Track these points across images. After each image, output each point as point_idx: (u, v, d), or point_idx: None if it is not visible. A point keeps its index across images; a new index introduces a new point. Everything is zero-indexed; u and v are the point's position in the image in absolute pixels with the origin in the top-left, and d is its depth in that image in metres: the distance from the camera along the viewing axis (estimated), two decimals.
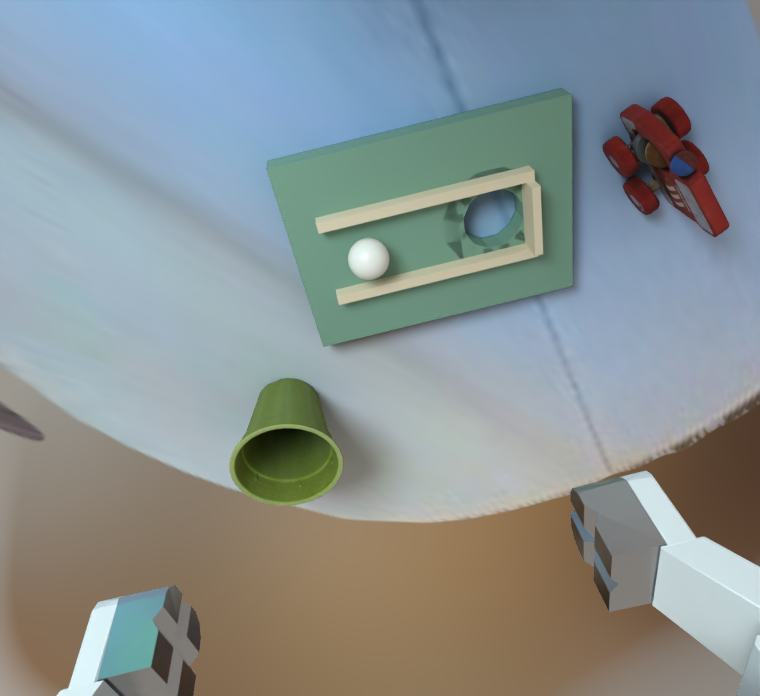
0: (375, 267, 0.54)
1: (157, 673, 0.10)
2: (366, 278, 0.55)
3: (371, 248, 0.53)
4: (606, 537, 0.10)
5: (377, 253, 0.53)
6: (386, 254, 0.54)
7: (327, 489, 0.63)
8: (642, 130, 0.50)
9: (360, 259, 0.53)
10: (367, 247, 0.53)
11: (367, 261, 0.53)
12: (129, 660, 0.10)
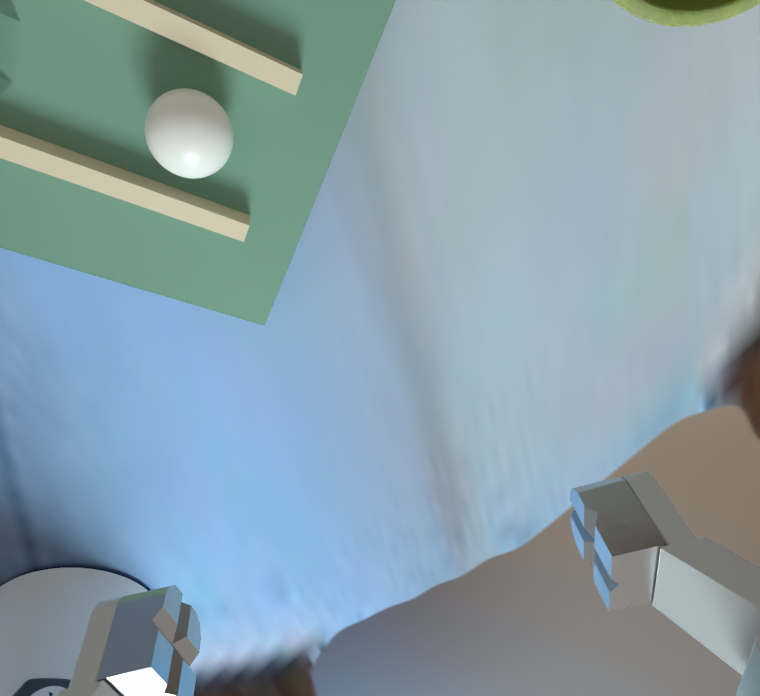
0: (175, 140, 0.25)
1: (157, 673, 0.10)
2: (208, 120, 0.26)
3: (167, 168, 0.27)
4: (606, 537, 0.10)
5: (160, 155, 0.26)
6: (146, 133, 0.26)
7: None
8: None
9: (197, 168, 0.27)
10: (174, 173, 0.27)
11: (185, 160, 0.26)
12: (129, 660, 0.10)
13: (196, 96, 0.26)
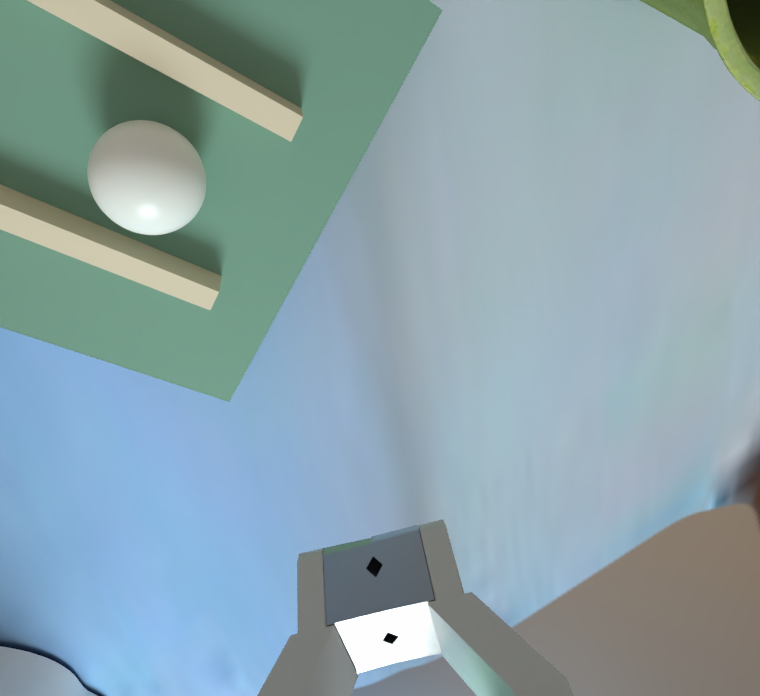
0: (126, 190, 0.19)
1: (383, 619, 0.10)
2: (173, 167, 0.19)
3: (115, 221, 0.20)
4: (382, 591, 0.10)
5: (104, 206, 0.20)
6: (88, 174, 0.20)
7: None
8: None
9: (153, 226, 0.20)
10: (124, 227, 0.21)
11: (137, 216, 0.20)
12: (355, 606, 0.10)
13: (159, 133, 0.19)
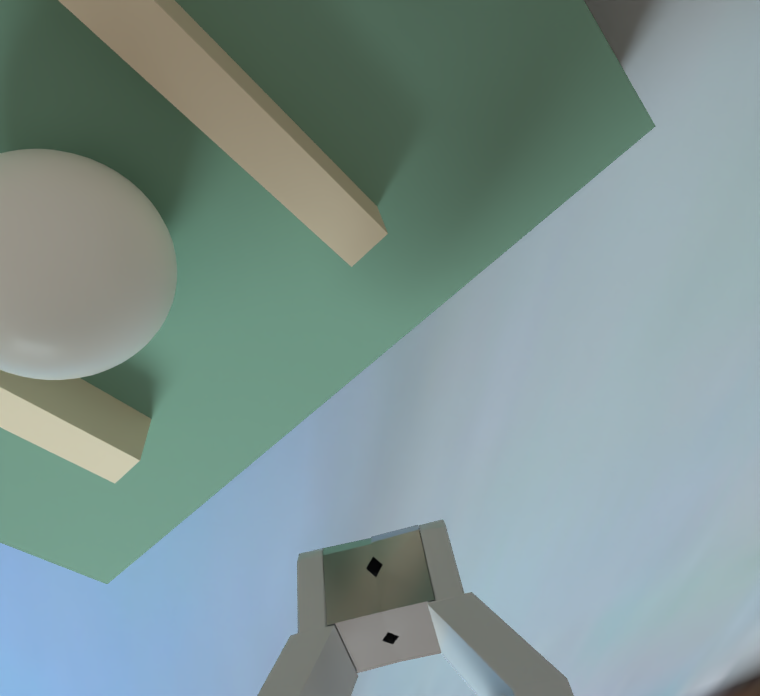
0: None
1: (383, 619, 0.10)
2: (115, 278, 0.09)
3: None
4: (382, 590, 0.10)
5: None
6: None
7: None
8: None
9: (39, 374, 0.10)
10: None
11: (6, 355, 0.09)
12: (355, 606, 0.10)
13: (105, 200, 0.09)
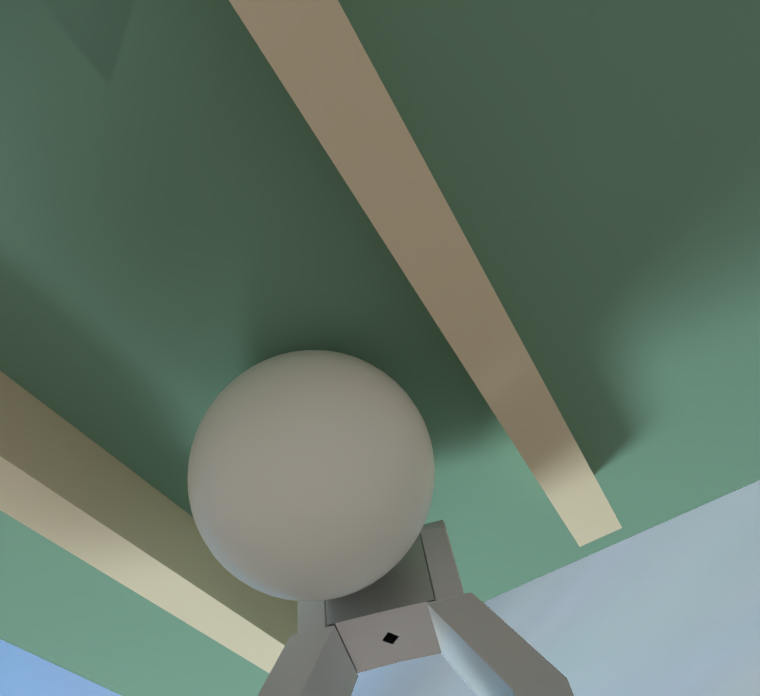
0: (266, 423, 0.08)
1: (383, 619, 0.10)
2: (387, 450, 0.08)
3: (190, 485, 0.09)
4: (382, 590, 0.10)
5: (201, 439, 0.08)
6: (230, 383, 0.09)
7: None
8: None
9: (249, 539, 0.08)
10: (193, 511, 0.09)
11: (240, 489, 0.08)
12: (355, 606, 0.10)
13: (403, 396, 0.09)
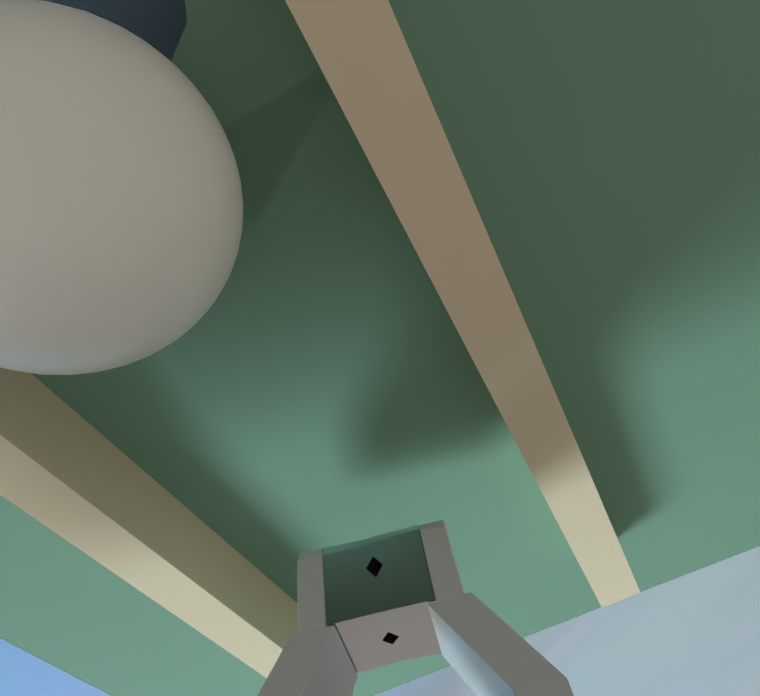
0: (165, 339, 0.06)
1: (383, 619, 0.10)
2: (195, 192, 0.06)
3: None
4: (382, 591, 0.10)
5: None
6: None
7: None
8: None
9: None
10: None
11: None
12: (355, 606, 0.10)
13: (56, 144, 0.05)
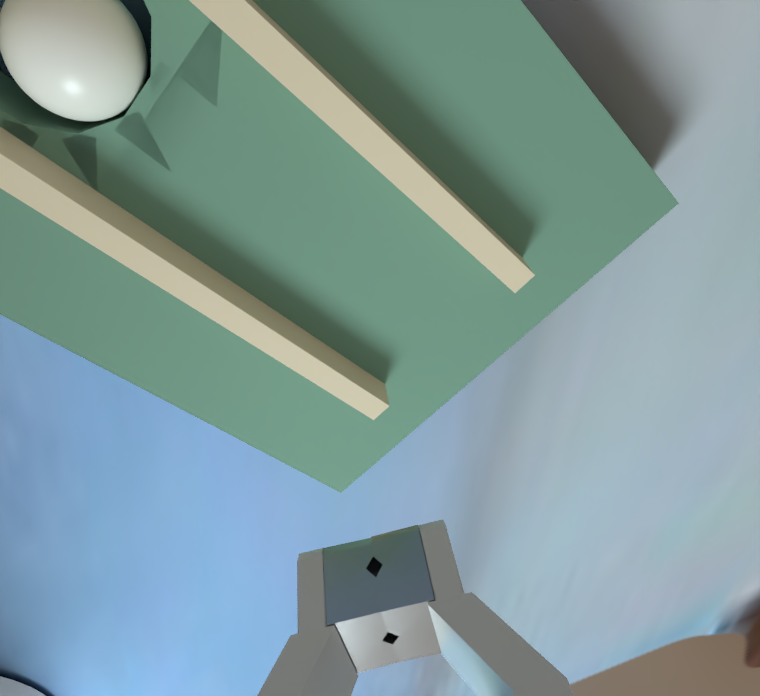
0: (22, 26, 0.15)
1: (383, 619, 0.10)
2: None
3: (55, 95, 0.16)
4: (382, 590, 0.10)
5: (30, 78, 0.16)
6: None
7: None
8: None
9: (82, 57, 0.16)
10: (70, 98, 0.17)
11: (53, 50, 0.16)
12: (355, 606, 0.10)
13: None
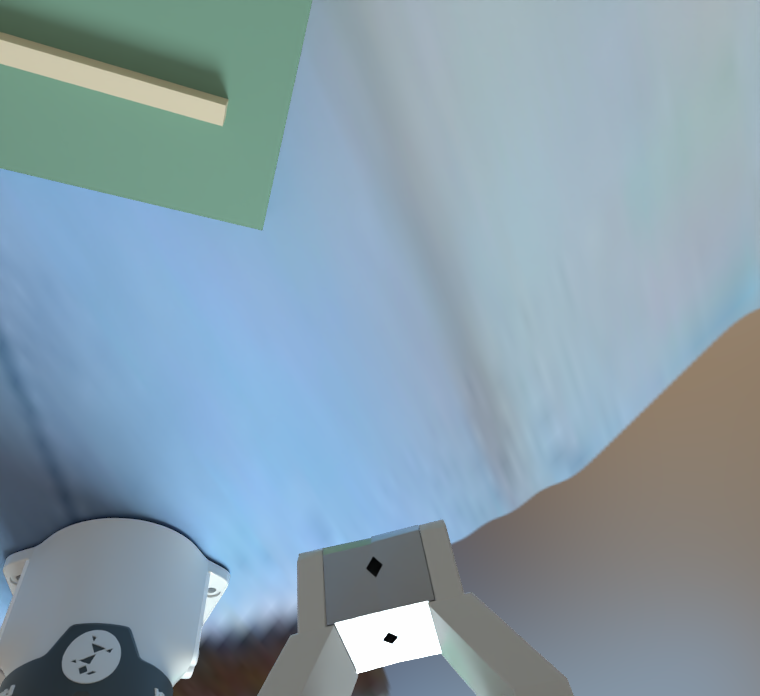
0: None
1: (383, 619, 0.10)
2: None
3: None
4: (382, 591, 0.10)
5: None
6: None
7: None
8: None
9: None
10: None
11: None
12: (355, 606, 0.10)
13: None
